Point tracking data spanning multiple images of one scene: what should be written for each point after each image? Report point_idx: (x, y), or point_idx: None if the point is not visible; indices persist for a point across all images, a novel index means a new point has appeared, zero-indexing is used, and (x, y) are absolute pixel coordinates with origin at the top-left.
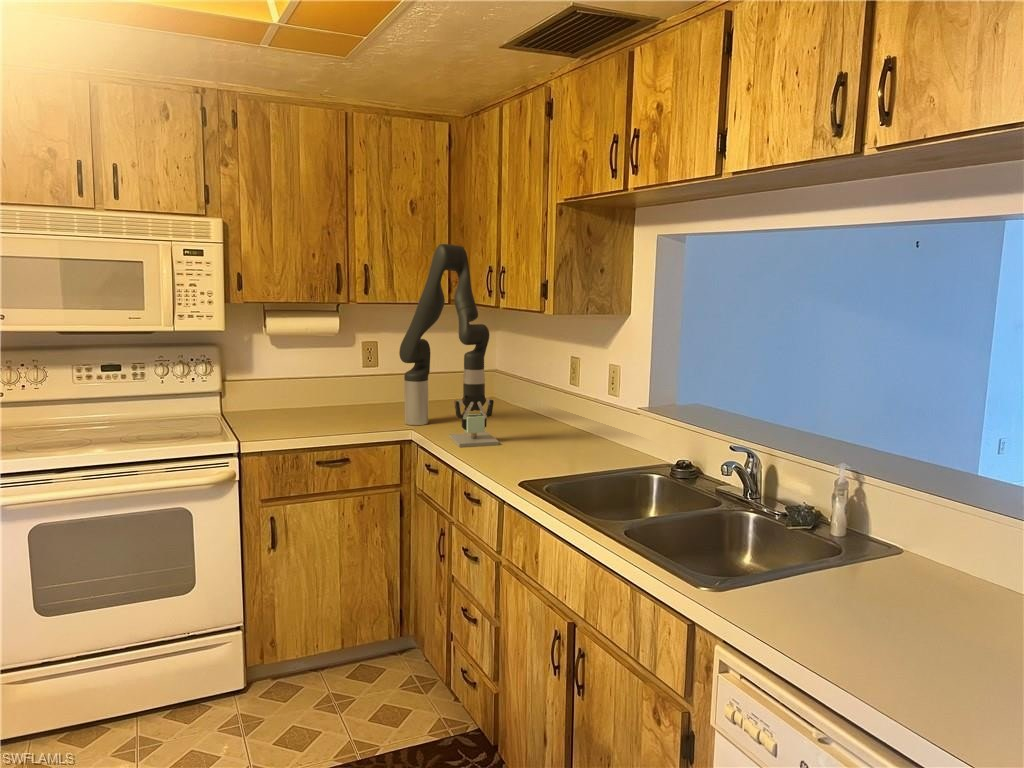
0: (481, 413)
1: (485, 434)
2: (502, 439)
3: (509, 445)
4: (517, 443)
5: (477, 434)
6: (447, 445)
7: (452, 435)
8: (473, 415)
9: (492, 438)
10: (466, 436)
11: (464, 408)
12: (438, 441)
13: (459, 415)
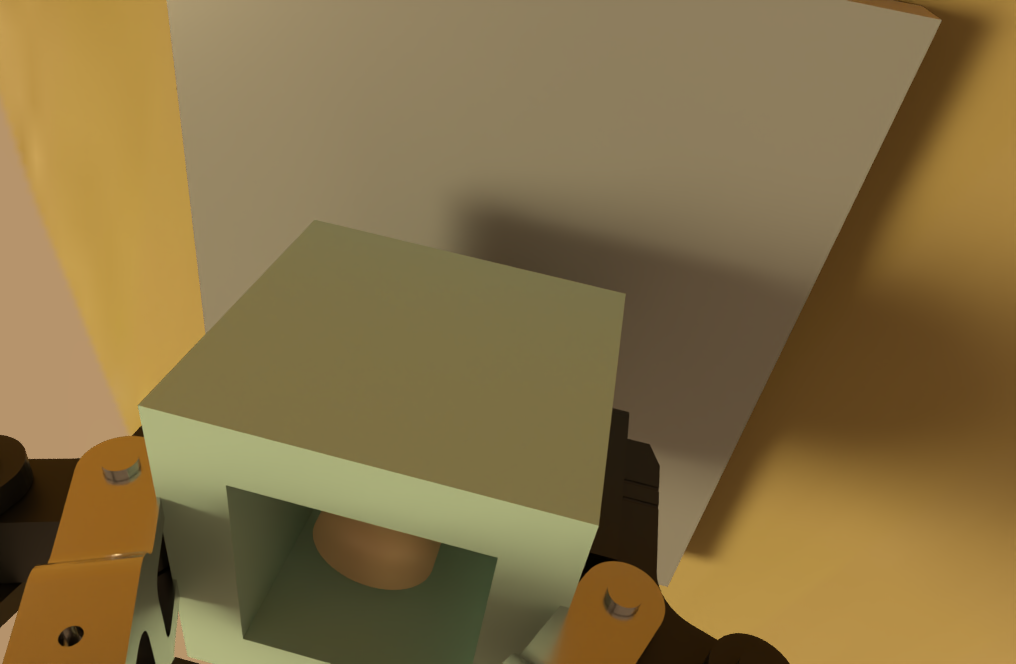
0: (546, 658)
1: (762, 201)
2: (936, 351)
3: (773, 587)
4: (923, 574)
5: (631, 139)
6: (130, 295)
7: (192, 8)
8: (382, 511)
9: (689, 455)
10: (398, 189)
11: (15, 635)
12: (15, 38)
13: (4, 582)
